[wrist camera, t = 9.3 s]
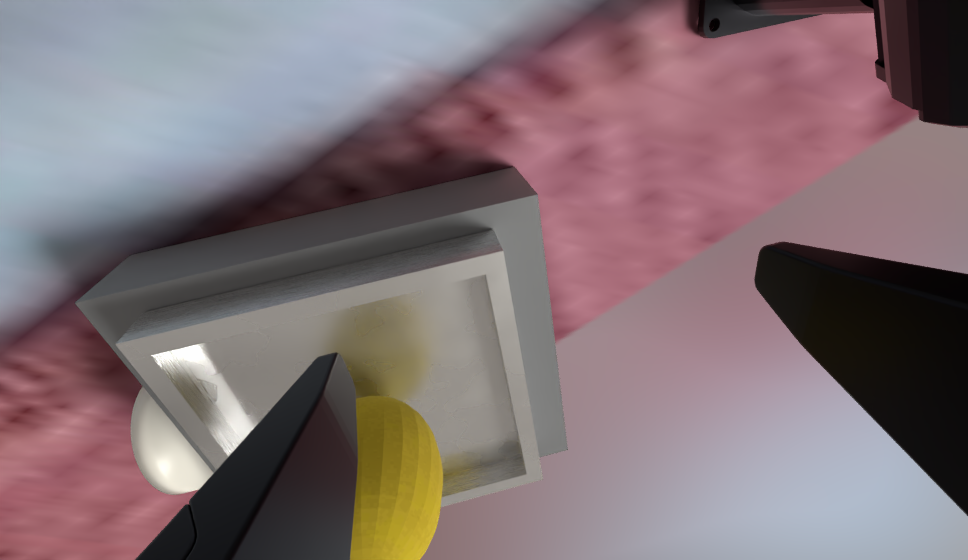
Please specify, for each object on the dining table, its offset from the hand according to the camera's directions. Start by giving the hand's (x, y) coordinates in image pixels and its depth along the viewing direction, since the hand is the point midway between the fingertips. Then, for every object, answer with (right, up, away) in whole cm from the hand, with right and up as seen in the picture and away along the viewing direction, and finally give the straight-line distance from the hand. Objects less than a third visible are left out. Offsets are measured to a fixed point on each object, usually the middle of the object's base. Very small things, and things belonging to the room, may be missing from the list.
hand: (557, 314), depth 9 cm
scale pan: (-7, -5, +12) cm, 15 cm away
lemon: (-7, -5, +11) cm, 14 cm away
